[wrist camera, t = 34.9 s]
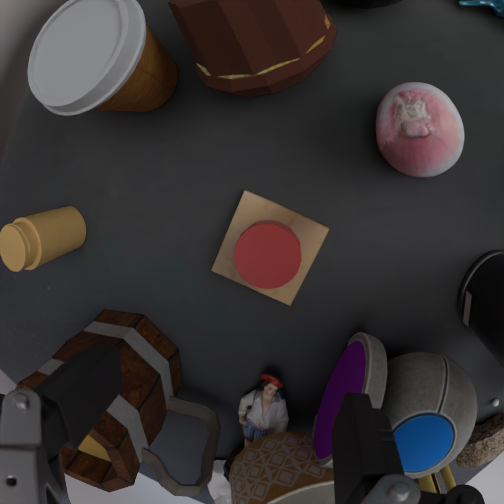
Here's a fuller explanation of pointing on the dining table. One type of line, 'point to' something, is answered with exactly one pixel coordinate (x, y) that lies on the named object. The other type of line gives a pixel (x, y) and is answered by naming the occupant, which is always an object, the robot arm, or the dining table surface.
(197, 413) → the mug
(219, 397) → the dining table surface
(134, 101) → the disposable coffee cup
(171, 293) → the dining table surface
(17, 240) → the jam jar
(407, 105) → the onion
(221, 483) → the figurine
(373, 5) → the bottle
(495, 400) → the figurine set
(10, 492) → the robot arm
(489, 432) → the stone
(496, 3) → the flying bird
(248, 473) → the planter
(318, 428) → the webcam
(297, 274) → the coaster
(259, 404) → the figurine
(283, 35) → the brown faceted rounded block
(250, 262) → the jar lid
